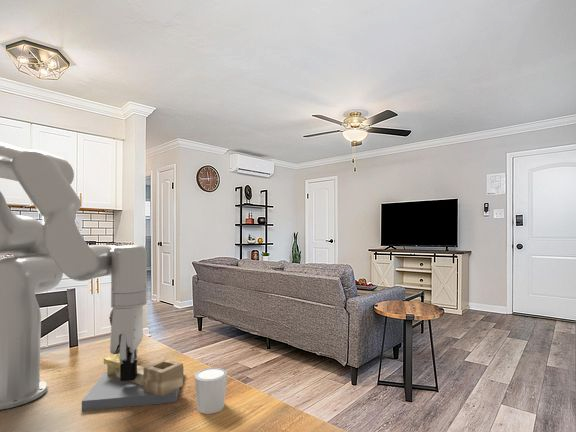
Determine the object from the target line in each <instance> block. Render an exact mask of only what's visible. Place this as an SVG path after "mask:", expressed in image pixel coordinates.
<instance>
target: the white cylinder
mask: <svg viewBox="0 0 576 432" xmlns="http://www.w3.org/2000/svg"><path fill="white" fill-rule="evenodd" d="M193 376H194V386H195V396H196V398H195V399H196V408H197V412H199V413H202V414H211V415H212V414H214V413H218V412H220V411H222V410H223V409H224V408H225V399H226V389H227V379H228V372H227V370H226V369H223V368H219V367H208V368H204V369H203V368H202V369H201V370H199V371H197V372H195V373H194V375H193Z"/></svg>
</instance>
